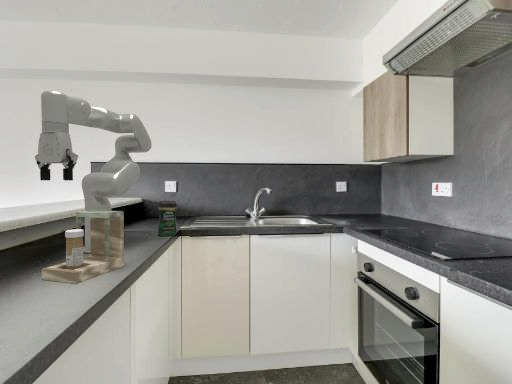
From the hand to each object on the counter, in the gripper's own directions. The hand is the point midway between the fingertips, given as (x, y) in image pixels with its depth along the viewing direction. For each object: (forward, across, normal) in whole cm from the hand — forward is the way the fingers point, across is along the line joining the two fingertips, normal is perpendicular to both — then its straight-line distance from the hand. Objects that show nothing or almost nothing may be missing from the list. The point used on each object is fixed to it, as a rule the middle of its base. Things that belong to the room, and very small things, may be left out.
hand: (56, 180), depth 98 cm
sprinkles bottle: (+28, +18, -11) cm, 35 cm away
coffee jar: (+29, +6, +59) cm, 66 cm away
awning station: (+28, +18, -6) cm, 34 cm away
